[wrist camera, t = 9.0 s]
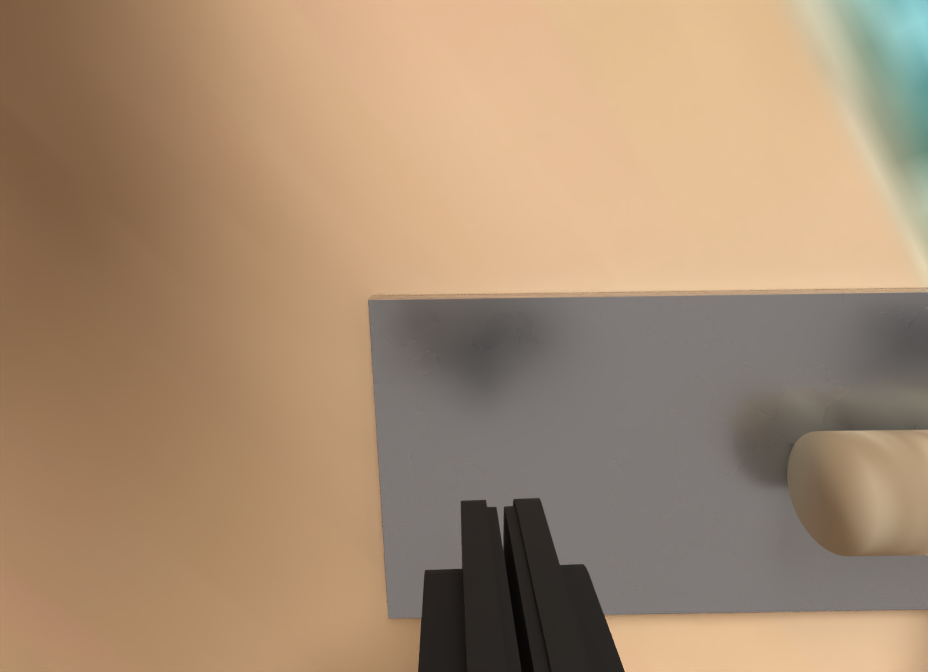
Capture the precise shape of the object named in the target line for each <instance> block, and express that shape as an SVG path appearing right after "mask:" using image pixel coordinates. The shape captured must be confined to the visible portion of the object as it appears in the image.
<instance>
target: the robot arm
mask: <svg viewBox="0 0 928 672" xmlns="http://www.w3.org/2000/svg"><path fill="white" fill-rule="evenodd" d="M461 546H462V569H439V570H425V573H424V586H423V602H422V619H421V635H420V652H419V668H418V672H625V671H624V668H623V666H622V663H621V660H620V657H619V655H618V652H617V649H616V646H615V644H614V641H613V638H612V635H611V633H610V630H609V627H608V625H607V622H606V619H605V616H604V614H603V611H602V608H601V605H600V603H599V600H598V597H597V594H596V592H595V589H594V586H593V583H592V581H591V578H590V575H589V573H588V570H587V568H586V567H585V565H584V564H571V565H560V564H559V560H558V557H557V554H556V550H555V547H554V543H553V540H552V537H551V533H550V530H549V526H548V523H547V520H546V516H545V513H544V510H543V506H542V503H541V500H540V498H523V499H514V500H513V506H504V524H503V546H502V539H501V533H500V526H499V520H498V513H497V507H487V503H486V500H465V501H461Z"/></svg>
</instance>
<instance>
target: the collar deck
mask: <svg viewBox="0 0 928 672" xmlns="http://www.w3.org/2000/svg"><path fill="white" fill-rule="evenodd" d="M368 302H369V318H370V334H371V350H372V366H373V381H374V397H375V413H376V429H377V445H378V460H379V476H380V492H381V508H382V524H383V539H384V555H385V571H386V587H387V603H388V618H422V602H423V586H424V573H425V570H439V569H462V546H461V501H465V500H486V503H487V507H497V513H498V520H499V526H500V533H501V539H502V546H503V524H504V506H513V500H514V499H523V498H540V500H541V503H542V506H543V510H544V513H545V516H546V520H547V523H548V526H549V530H550V533H551V537H552V540H553V543H554V547H555V550H556V554H557V557H558V560H559V564H560V565H571V564H584V565H585V567H586V568H587V570H588V573H589V575H590V578H591V581H592V583H593V586H594V589H595V592H596V594H597V597H598V600H599V603H600V605H601V608H602V611H603V614H604V615H622V614H682V613H741V612H800V611H859V610H919V609H928V555H912V556H841V555H837V554H834V553H832V552H830V551H828V550H827V549H825V548H823V547H822V546H821V545H820V544H818V543H817V542H816V541H815V540H814V539H813V538H812V537H811V535H810V534H809V533H808V532H807V530H806V529H805V528H804V526H803V525H802V523H801V521H800V520H799V518H798V516H797V514H796V511H795V509H794V507H793V504H792V501H791V497H790V493H789V489H788V481H787V466H788V460H789V456H790V452H791V450H792V448H793V446H794V444H795V443H796V442H797V440H798V439H799V438H800V437H802V436H803V435H805V434H807V433H809V432H813V431H865V430H928V288H894V289H822V290H750V291H678V292H605V293H533V294H461V295H389V296H372V297H371V298H370V299H369V300H368Z"/></svg>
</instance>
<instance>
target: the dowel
mask: <svg viewBox="0 0 928 672" xmlns="http://www.w3.org/2000/svg"><path fill="white" fill-rule="evenodd" d="M787 481H788V489H789V493H790V497H791V501H792V504H793V507H794V509H795V511H796V514H797V516H798V518H799V520H800V521H801V523H802V525H803V526H804V528H805V529H806V530H807V532H808V533H809V534H810V535H811V537H812V538H813V539H814V540H815V541H816V542H817V543H818V544H820V545H821V546H822V547H823V548H825V549H827V550H828V551H830V552H832V553H834V554H837V555H841V556H912V555H928V430H865V431H813V432H809V433H807V434H805V435H803V436H802V437H800V438H799V439H798V440H797V442H796V443H795V444H794V446H793V448H792V450H791V452H790V456H789V460H788V466H787Z"/></svg>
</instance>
